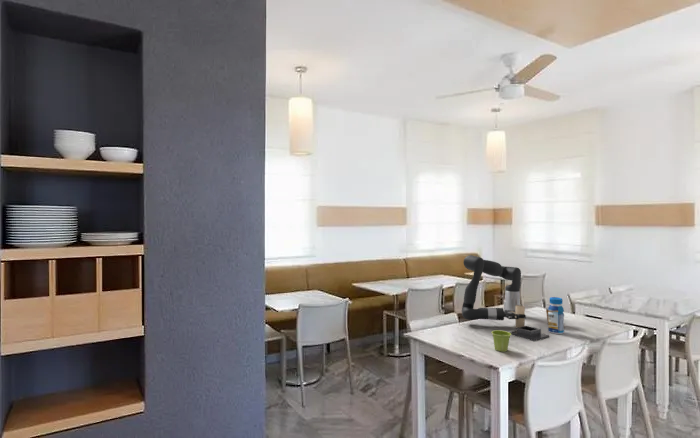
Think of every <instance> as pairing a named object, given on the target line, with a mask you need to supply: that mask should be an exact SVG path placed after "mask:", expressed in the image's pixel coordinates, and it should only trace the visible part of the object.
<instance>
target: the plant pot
mask: <svg viewBox="0 0 700 438" xmlns="http://www.w3.org/2000/svg"><path fill="white" fill-rule="evenodd" d="M509 332H510V331H509ZM509 332H508V331H506V330H499V329H498V330H497V329H495V330H492V331H491V334H492V337H493V344H494V345H493V346H494V351H497V352H498V351H499V352H501V353H503V352H505V353H506V352H508V350H509V343H510V338H511V336H512V335H511V333H509Z"/></svg>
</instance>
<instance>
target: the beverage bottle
mask: <svg viewBox="0 0 700 438" xmlns="http://www.w3.org/2000/svg"><path fill="white" fill-rule="evenodd" d="M549 305H550V306H549V308H548V310H549V312H548V321H547V325H548V328H547V332H549V333H551V334H554V335H563V334H564V332H565V328H564V326H565V323H564V320H565V314H564V312H565V310H564V306H563V298H562V297H557V296H556V297H555V296H553V297H552V296H551V297H549Z"/></svg>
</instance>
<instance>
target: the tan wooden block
mask: <svg viewBox="0 0 700 438" xmlns="http://www.w3.org/2000/svg"><path fill="white" fill-rule="evenodd" d="M525 307H526V305H521V304H520V305H516V306H515V314H525V315H526V313H525V310H526V308H525ZM515 317H516V316H515ZM514 320H515V322H514V323H515V325H514V326H515V328H516V329H517V328H518V327H522V326H526V325H525V324H526V323H525V322H526V321H525V320H526V318H519V319H514Z"/></svg>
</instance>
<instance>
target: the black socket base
mask: <svg viewBox="0 0 700 438" xmlns="http://www.w3.org/2000/svg"><path fill="white" fill-rule="evenodd" d="M509 333H511V336H514V337H517V338H521V339H525V340H527V341H528V340H529V341H531V342H537V341H539V340H540V339H541V340H543V338H544V339H546V338H547V339H548V338H550V335H549V334H545V333H543V332H542V329H540V328H538V327H533V326H529V325H525V326H522V327H518V328H516V330H513V331H509Z"/></svg>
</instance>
